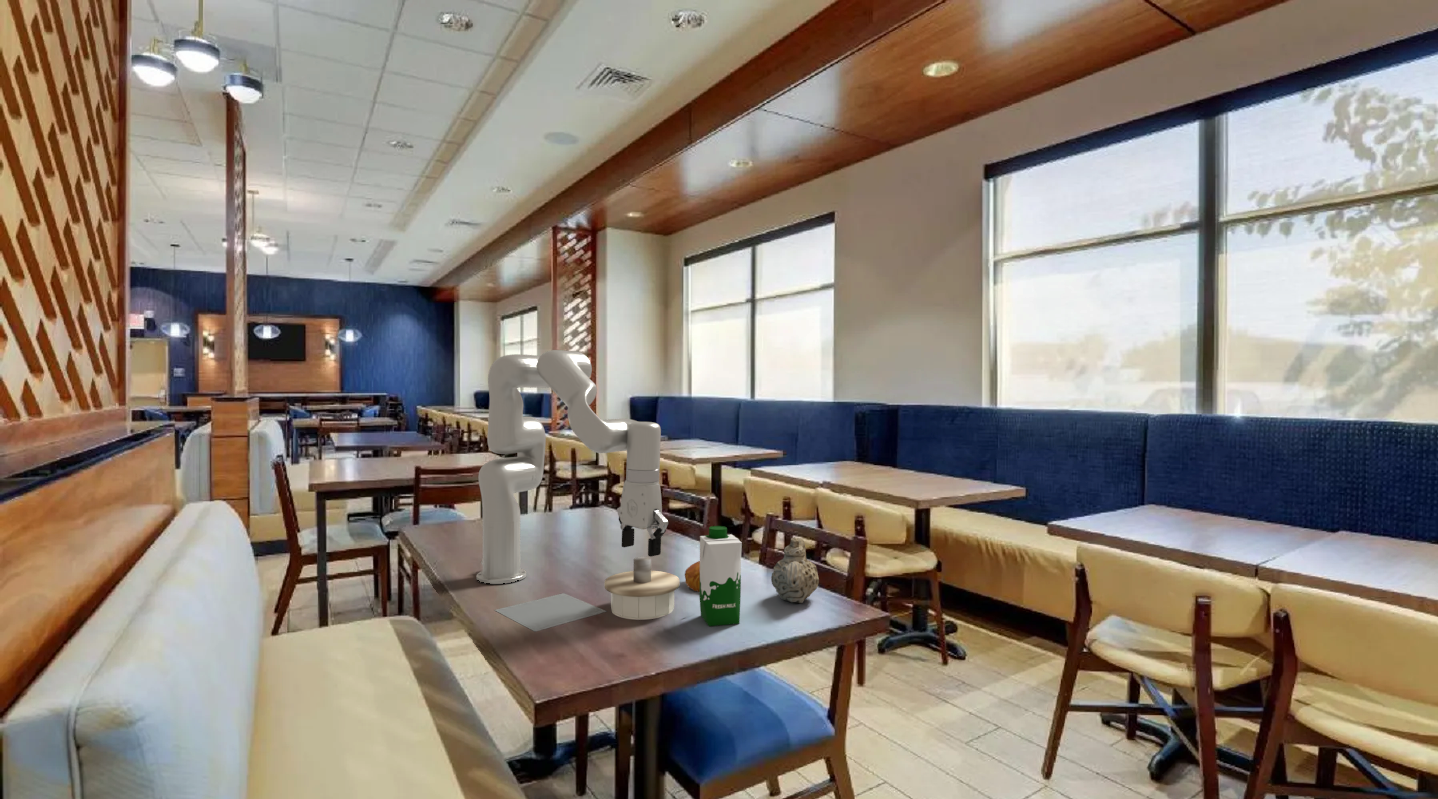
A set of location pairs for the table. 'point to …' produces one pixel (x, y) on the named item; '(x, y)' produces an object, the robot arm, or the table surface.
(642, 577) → the lid
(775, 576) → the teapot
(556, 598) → the mat
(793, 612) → the table surface
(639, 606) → the bowl
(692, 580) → the croissant
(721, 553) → the milk carton
